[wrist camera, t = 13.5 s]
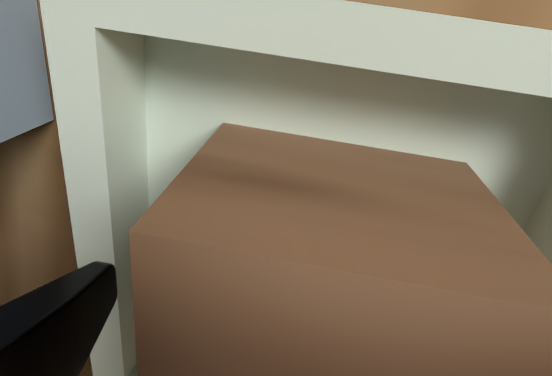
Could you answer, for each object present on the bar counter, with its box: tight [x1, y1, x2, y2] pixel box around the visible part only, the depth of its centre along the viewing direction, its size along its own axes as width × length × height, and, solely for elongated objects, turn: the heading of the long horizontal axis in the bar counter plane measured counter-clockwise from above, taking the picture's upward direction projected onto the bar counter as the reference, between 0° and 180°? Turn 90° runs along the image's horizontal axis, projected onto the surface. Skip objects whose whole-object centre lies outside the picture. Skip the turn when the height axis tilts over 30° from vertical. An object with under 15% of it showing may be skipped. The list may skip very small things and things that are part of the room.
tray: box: [40, 0, 552, 376], centre depth 10 cm, size 12×12×3 cm
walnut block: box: [129, 123, 552, 376], centre depth 8 cm, size 6×6×5 cm
